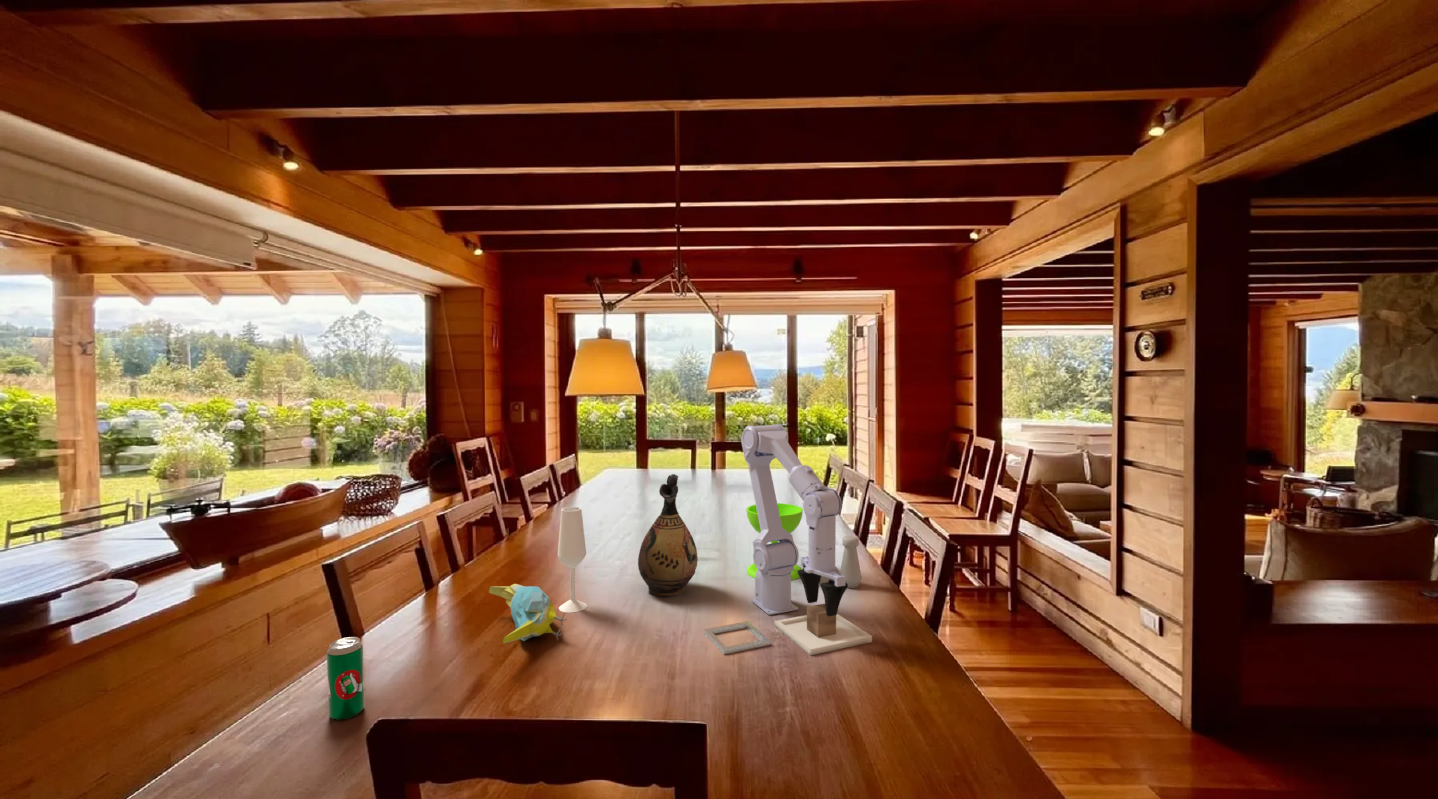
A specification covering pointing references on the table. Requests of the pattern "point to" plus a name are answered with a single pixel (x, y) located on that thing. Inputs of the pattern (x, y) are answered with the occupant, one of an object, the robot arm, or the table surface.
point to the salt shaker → (851, 562)
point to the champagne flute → (571, 551)
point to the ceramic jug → (668, 548)
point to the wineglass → (789, 522)
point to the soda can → (345, 678)
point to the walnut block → (820, 621)
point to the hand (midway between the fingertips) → (821, 608)
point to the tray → (813, 645)
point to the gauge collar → (740, 647)
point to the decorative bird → (528, 611)
